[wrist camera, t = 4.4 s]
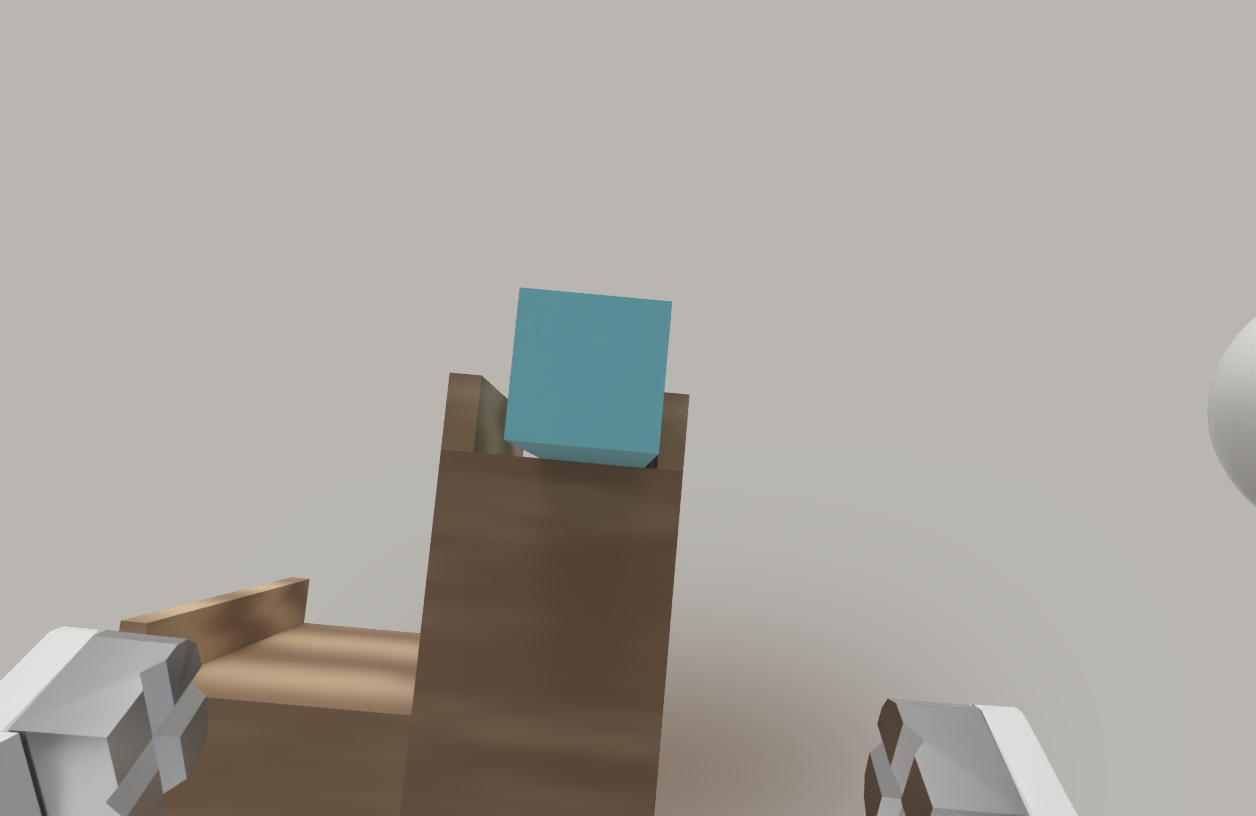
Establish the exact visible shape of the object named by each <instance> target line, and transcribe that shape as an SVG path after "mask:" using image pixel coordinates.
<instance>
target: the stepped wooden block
mask: <svg viewBox="0 0 1256 816" xmlns="http://www.w3.org/2000/svg"><path fill="white" fill-rule="evenodd" d="M507 404H508V399H507V398H506V397H505V396H503V395H502V394H501V393H500V392H499V391H498V390H497V389H496V388H495V387H494V386H493V385H491V384H490V383H489V382H488V381H487V380H486V379H484V377H483V376H480V375H468V374H458V373H450V375H449V384H448V393H447V402H446V411H445V420H444V429H443V437H442V446H441V455H440V464H439V473H438V482H437V491H436V500H435V509H434V518H433V526H432V535H431V544H430V553H429V563H428V571H427V580H426V589H425V598H424V606H423V615H422V624H421V633H410V632H399V631H398V632H397V631H387V630H376V629H365V628H354V627H343V626H331V625H320V624H309V623H304V617H305V609H306V601H307V594H308V586H309V579H303V578H293V577H292V578H288V579H284V580H280V581H276V582H272V583H268V584H264V585H260V586H256V587H252V588H248V589H245V590H240V591H236V592H232V593H229V594H224V595H220V596H216V597H213V598H209V599H205V600H201V601H197V602H193V603H189V604H185V605H181V606H177V607H173V608H169V609H165V610H161V611H157V612H153V613H150V614H146V615H141V616H137V617H133V618H129V619H125V620H121V623H120V629H119V631H120V632H129V633H138V634H147V635H156V636H165V637H175V638H184V639H189V640H191V641H193V642H194V643H196V644H197V646H198V650H199V655H200V660H201V665H202V667H201V668H200V670H199V671H198V673H197V674H196V675H195V677H194V678H193V680H192V681H193V683H194V684H195V685H196V686H197V687H198V688H199V689H200V690H201V691H202V692H203V693H204V694H205V695H206V697H207V704H208V712H209V714H208V727H207V734H206V737H205V741H204V744H203V747H202V750H201V753H200V756H199V759H198V760H197V762H196V764H195V765H194V767H193V769H192V771H191V772H190V774H189V776H188V777H187V779H186V780H184V781H182V782H181V783H179V784H178V785H176V786H175V787H173V788H172V789H170V790H168V791H167V792H165V793H164V800H165V805H166V811H167V812H166V813H165V815H164V816H654V811H655V799H656V787H657V775H658V763H659V752H660V739H661V728H662V716H663V704H664V692H665V680H666V668H667V656H668V644H669V631H670V620H671V608H672V596H673V584H674V573H675V561H676V548H677V537H678V525H679V513H680V501H681V489H682V477H683V476H682V475H683V465H684V453H685V441H686V429H687V417H688V405H689V395H687V394H676V393H665V392H664V400H663V411H662V423H661V434H660V446H659V454H658V455H657V456H656V457H655V458H654V459H653V460H652V461H651V462H650V463H649V464H647V465H646V466H645V467H644V468H639V467H628V466H617V465H606V464H595V463H584V462H573V461H562V460H551V459H541V458H529V457H523V449H521V448H519V447H517V446H515V445H513V444H511V443H509V442H507V441H505V440H504V433H505V423H506V414H507Z"/></svg>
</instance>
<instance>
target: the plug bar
mask: <svg viewBox="0 0 1256 816" xmlns="http://www.w3.org/2000/svg"><path fill="white" fill-rule="evenodd" d="M671 308H672V302H670V301H659V300H649V299H637V298H627V297H616V296H606V295H595V294H584V293H573V292H562V291H551V290H539V289H530V288H520V290H519V300H518V309H517V319H516V328H515V338H514V347H513V357H512V367H511V376H510V385H509V395H508V404H507V414H506V423H505V433H504V440H505V441H507V442H509V443H511V444H513V445H515V446H517V447H519V448H521V449H523V450H525V451H527V452H529V453H531V454H533V455H535V456H537V457H539V458H541V459H551V460H562V461H573V462H584V463H595V464H606V465H617V466H628V467H639V468H644V467H645V466H646V465H647V464H649V463H650V462H651V461H652V460H653V459H654V458H655V457H656V456H657V455H658V454H659V446H660V434H661V423H662V411H663V400H664V387H665V377H666V364H667V354H668V342H669V331H670V319H671Z"/></svg>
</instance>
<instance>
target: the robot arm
mask: <svg viewBox="0 0 1256 816" xmlns="http://www.w3.org/2000/svg"><path fill="white" fill-rule="evenodd" d="M1208 424H1209V432H1210V436H1211V440H1212V444H1213V447H1214V450H1215V452H1216V455H1217V457H1218V459H1219V462H1220V463H1221V465H1222V467H1223V469H1224V470H1225V472H1226V474H1227V476H1228V477H1229V478H1230V480H1231V481H1232V482H1233V484H1234V485H1235V486H1236V488H1237V489H1238V490H1239V491H1240V492H1241V493H1242V494H1243V495H1244V496H1245V497H1246V498H1247V500H1249V501H1250V502H1251V503H1252V504H1253V505H1254V506H1255V507H1256V317H1255V318H1254V319H1253V320H1252V321H1251V322H1250V323H1248V324H1247V325H1246V326H1245V327H1244V328H1243V329H1242V330H1241V332H1240V333H1239V334H1238V335H1237V336H1236V337H1235V339H1234V340H1233V341H1232V343H1231V344H1230V345H1229V347H1228V349H1227V350H1226V351H1225V353H1224V354H1223V356H1222V358H1221V360H1220V362H1219V364H1218V366H1217V368H1216V371H1215V374H1214V377H1213V380H1212V383H1211V387H1210V393H1209V399H1208ZM201 667H202V665H201V660H200V655H199V650H198V646H197V644H196V643H194V642H193V641H191V640H189V639H184V638H175V637H165V636H156V635H147V634H138V633H129V632H120V631H110V630H105V631H100V630H93V629H84V628H75V627H66V626H63V627H60V628H58V629H55V630H53V631H50V632H49V633H48V634H47V635H46V636H45V637H44V638H43V639H42V640H41V641H40V642H39V643H38V644H37V645H36V646H35V647H34V648H33V649H32V650H31V651H30V652H29V653H28V654H27V655H26V656H25V657H24V658H23V659H22V660H21V661H20V662H19V663H18V664H17V665H16V666H15V667H14V668H13V669H12V670H11V671H10V672H9V673H8V674H7V675H6V676H5V677H4V678H3V679H2V680H1V681H0V816H164V815H165V813H166V812H167V811H166V805H165V800H164V793H165V792H167V791H168V790H170V789H172V788H173V787H175V786H176V785H178V784H179V783H181V782H182V781H184V780H186V779H187V777H188V776H189V774H190V772H191V771H192V769H193V767H194V765H195V764H196V762H197V760H198V759H199V756H200V753H201V750H202V747H203V744H204V741H205V737H206V734H207V727H208V714H209V712H208V704H207V697H206V695H205V694H204V693H203V692H202V691H201V690H200V689H199V688H198V687H197V686H196V685H195V684H194V683H193V681H192V680H193V678H194V677H195V675H196V674H197V673H198V671H199V670H200V668H201ZM878 728H879V731H880V734H881V737H882V741H883V742H882V743H881V744H880V745H878V746H877V747H876V748H875V749H874V750H872V751H871V752H870V754H869V758H868V763H867V767H866V772H865V785H864V788H865V789H864V801H865V809H866V816H1078V815H1077V813H1076V811H1075V809H1074V807H1073V805H1072V804H1071V802H1070V800H1069V798H1068V796H1067V794H1066V792H1065V790H1064V789H1063V787H1062V785H1061V783H1060V781H1059V779H1058V777H1057V775H1056V774H1055V772H1054V770H1053V768H1052V766H1051V764H1050V762H1049V760H1048V759H1047V757H1046V755H1045V753H1044V751H1043V750H1042V747H1041V746H1040V744H1039V742H1038V740H1037V738H1036V736H1035V734H1034V732H1033V731H1032V729H1031V727H1030V725H1029V723H1028V721H1027V720H1026V718H1025V716H1024V714H1023V713H1022V712H1020V711H1019V710H1018V709H1017V708H1015V707H1002V706H986V705H972V706H969V705H962V704H950V703H937V702H925V701H911V700H899V699H887V701H886V702H885V704H884V705H883V707H882V709H881V713H880V716H879V720H878Z"/></svg>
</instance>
